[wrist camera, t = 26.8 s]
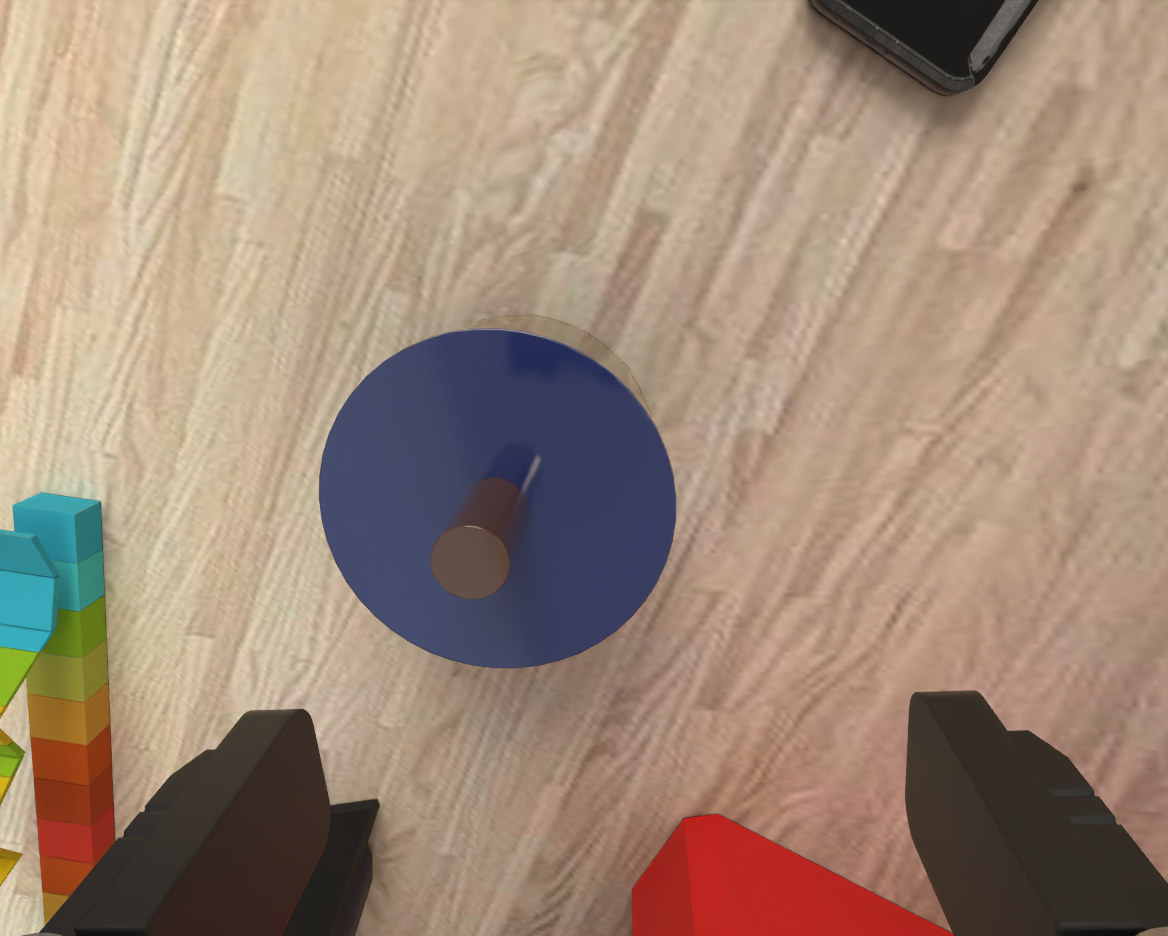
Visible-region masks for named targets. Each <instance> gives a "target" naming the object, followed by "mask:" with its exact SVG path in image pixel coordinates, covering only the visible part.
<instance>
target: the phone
mask: <svg viewBox="0 0 1168 936" xmlns="http://www.w3.org/2000/svg"><path fill="white" fill-rule="evenodd" d="M810 1H811V3H812V5H813V7H814V8H815V9H816V10H817V11H818V12H819V13H820V14H821V15H823V16H824V17H826V18H827V19H829V20H830V21H831V22H833V23H834V24H836V25H837V26H839V27H840V28H842V29H843V30H845V31H846V32H847V33H849V34H850V35H852V36H853V37H855V38H856V39H858V40H859V41H861V42H862V43H863V44H865V45H866V46H868V47H869V48H871V49H872V50H874V51H875V52H877V53H878V54H879V55H881V56H882V57H884V58H885V59H887V60H888V61H890V62H891V63H893V64H894V65H895V66H897V67H898V68H900V69H901V70H903V71H904V72H906V73H907V74H909V75H910V76H911V77H913V78H914V79H916V80H917V81H919V82H920V83H922V84H923V85H925V86H926V87H927V88H929V89H930V90H932V91H933V92H936V93H938V94H940V95H950V96H951V95H954V94H958V93H961V92H964V91H966V90H968V89H971V88H972V87H974V86H976V85H977V84H979V83H980V82H981V81H982V80H983V79H984V78H985V77H986V76H987V74H988V73H989V72H990V70H991V69H992V67H993V66H994V64H995V63H996V61H997V60H998V58H999V57H1000V56H1001V54H1002V53H1003V51H1004V50H1005V48H1006V47H1007V45H1008V44H1009V42H1010V41H1011V40H1012V38H1013V37H1014V35H1015V34H1016V32H1017V31H1018V29H1019V28H1020V27H1021V25H1022V24H1023V22H1024V21H1025V19H1026V18H1027V16H1028V15H1029V13H1030V12H1031V11H1032V9H1033V8H1034V6H1035V5H1036V3H1037V2H1038V0H810Z"/></svg>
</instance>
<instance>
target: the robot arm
mask: <svg viewBox="0 0 1168 936" xmlns="http://www.w3.org/2000/svg"><path fill="white" fill-rule="evenodd" d="M905 802H906V811H907V818H908V823H909V828H910V832H911V836H912V839H913V842H914V845H915V847H916V850H917V852H918V854H919V857H920V859H921V861H922V863H923V866H924V868H925V870H926V873H927V875H928V877H929V879H930V882H931V884H932V886H933V889H934V891H935V893H936V896H937V898H938V900H939V902H940V905H941V907H942V909H943V912H944V914H945V916H946V918H947V921H948V923H949V925H950V928H951V930H952V932H953V934H954V936H1168V883H1167V882H1166V881H1165V880H1164V878H1163V877H1162V876H1161V875H1160V873H1159V872H1158V871H1157V870H1156V868H1155V867H1154V866H1153V864H1152V863H1151V862H1150V861H1149V859H1148V858H1147V857H1146V856H1145V854H1144V853H1143V852H1142V851H1141V849H1140V848H1139V847H1138V845H1137V844H1136V843H1135V842H1134V840H1133V839H1132V838H1131V837H1130V835H1129V834H1128V833H1127V832H1126V830H1125V829H1124V828H1123V826H1122V825H1117V823H1116V820H1115V816H1114V815H1113V814H1112V813H1111V811H1110V810H1109V809H1108V807H1107V806H1106V805H1105V804H1104V802H1103V801H1102V800H1101V799H1100V797H1099V796H1095V795H1094V791H1093V789H1092V787H1091V786H1090V785H1089V783H1088V782H1087V781H1086V780H1085V778H1084V777H1083V776H1082V775H1081V773H1080V772H1079V771H1078V770H1077V768H1076V767H1075V766H1074V764H1073V763H1072V762H1071V761H1070V759H1069V758H1068V757H1067V756H1065V755H1064V754H1062V753H1061V752H1059V751H1058V750H1056V749H1055V748H1054V747H1052V746H1051V745H1049V744H1048V743H1046V742H1045V741H1043V740H1042V739H1040V738H1039V737H1037V736H1036V735H1035V734H1033V733H1032V732H1030V731H1029V730H1025V731H1007V730H1006V728H1005V727H1004V725H1003V724H1002V723H1001V721H1000V720H999V718H998V717H997V716H996V714H995V713H994V711H993V710H992V709H991V707H990V706H989V704H988V703H987V702H986V700H985V699H984V697H983V696H982V695H981V694H980V693H979V692H977V691H975V690H974V691H941V692H915V693H914V694H913V695H912V697H911V700H910V706H909V723H908V744H907V765H906V785H905ZM329 827H330V802H329V797H328V792H327V787H326V782H325V778H324V773H323V768H322V763H321V758H320V754H319V749H318V744H317V739H316V734H315V730H314V725H313V721H312V719H311V716H310V715H309V713H308V712H307V711H306V710H304V709H287V710H254V711H248V712H246V713H245V714H244V715H243V716H242V717H241V718H240V719H239V720H238V722H237V723H236V724H235V725H234V727H233V728H232V729H231V731H230V732H229V733H228V734H227V736H226V737H225V738H224V739H223V741H222V742H221V743H220V744H219V746H218V747H217V748H216V749H215V750H206V751H204V752H203V753H201V754H200V755H199V756H197V757H196V758H194V759H193V760H192V761H190V762H189V763H187V764H186V765H185V766H183V767H182V768H181V769H179V770H178V771H176V772H175V773H174V774H172V775H171V776H170V777H169V778H168V779H167V780H166V782H165V783H164V784H163V785H162V786H161V788H160V789H159V790H158V791H157V792H156V794H155V795H154V796H153V797H152V798H151V800H150V801H149V802H148V803H147V804H146V806H145V811H144V812H140V813H139V814H138V815H137V816H136V818H135V819H134V820H133V821H132V822H131V823H130V825H129V826H128V827H127V828H126V829H125V831H124V836H123V838H118V839H117V840H116V841H115V843H114V844H113V845H112V846H111V847H110V849H109V850H108V851H107V852H106V853H105V855H104V856H103V857H102V858H101V859H100V861H99V862H98V863H97V864H96V865H95V866H94V868H93V869H92V870H91V871H90V872H89V874H88V875H87V876H86V877H85V878H84V880H83V881H82V882H81V883H80V884H79V886H78V887H77V888H76V889H75V890H74V892H73V893H72V894H71V895H70V896H69V898H68V899H67V900H66V901H65V902H64V904H63V905H62V906H61V907H60V908H59V909H58V911H57V912H56V913H55V914H54V915H53V917H52V918H51V919H50V920H49V921H48V923H47V924H46V925H45V926H44V927H43V929H42V930H41V931H40V932H39V933H34V934H28V935H23V936H282V934H283V932H284V930H285V928H286V926H287V924H288V922H289V920H290V918H291V916H292V914H293V912H294V910H295V908H296V906H297V904H298V902H299V900H300V898H301V896H302V894H303V892H304V890H305V888H306V886H307V884H308V882H309V880H310V878H311V876H312V874H313V872H314V869H315V867H316V865H317V863H318V861H319V859H320V857H321V855H322V853H323V851H324V848H325V845H326V842H327V838H328V833H329Z"/></svg>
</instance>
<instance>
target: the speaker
mask: <svg viewBox="0 0 1168 936" xmlns="http://www.w3.org/2000/svg"><path fill="white" fill-rule="evenodd" d="M378 808H379V802H378V800H377V799H376V800H369V801H362V802H355V803H348V804H341V805H334V806H330V827H329V833H328V838H327V842H326V845H325V848H324V851H323V853H322V855H321V857H320V859H319V861H318V863H317V865H316V867H315V869H314V872H313V874H312V876H311V878H310V880H309V882H308V884H307V886H306V888H305V890H304V892H303V894H302V896H301V898H300V900H299V902H298V904H297V906H296V908H295V910H294V912H293V914H292V916H291V918H290V920H289V922H288V924H287V926H286V928H285V930H284V932H283V934H282V936H355V934H356V931H357V927H358V924H359V921H360V918H361V914H362V911H363V908H364V904H365V901H366V898H367V894H368V891H369V888H370V885H371V881H372V857H371V855H370V854H369V853H368V851H367V850H366V846H367V843H368V840H369V837H370V833H371V830H372V827H373V824H374V821H375V818H376V814H377V811H378Z"/></svg>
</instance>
